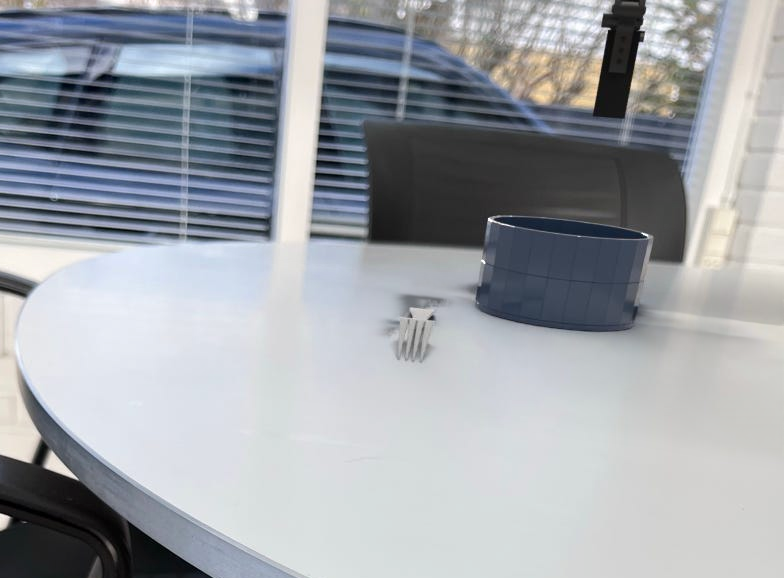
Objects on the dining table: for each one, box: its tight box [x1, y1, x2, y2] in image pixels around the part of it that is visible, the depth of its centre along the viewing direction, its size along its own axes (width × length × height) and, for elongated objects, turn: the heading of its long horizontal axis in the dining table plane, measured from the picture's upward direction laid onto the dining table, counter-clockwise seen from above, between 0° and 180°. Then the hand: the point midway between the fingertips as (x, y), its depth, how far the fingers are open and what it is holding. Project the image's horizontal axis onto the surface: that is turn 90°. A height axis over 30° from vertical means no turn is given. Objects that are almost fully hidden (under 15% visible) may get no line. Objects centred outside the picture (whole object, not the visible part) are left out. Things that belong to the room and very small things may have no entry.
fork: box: [397, 307, 437, 363], centre depth 89 cm, size 3×21×3 cm, turn 171°
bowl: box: [474, 215, 655, 332], centre depth 102 cm, size 15×15×8 cm
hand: (608, 118), depth 97 cm, fingers open, 13 cm apart
